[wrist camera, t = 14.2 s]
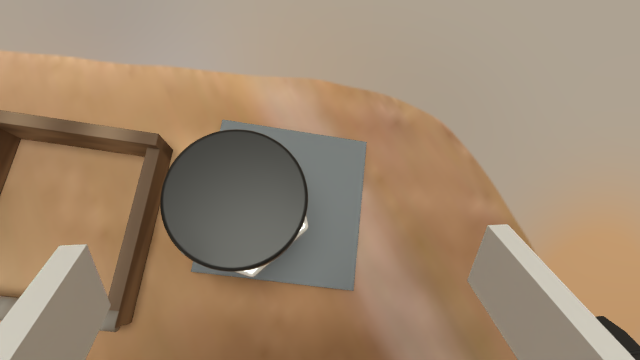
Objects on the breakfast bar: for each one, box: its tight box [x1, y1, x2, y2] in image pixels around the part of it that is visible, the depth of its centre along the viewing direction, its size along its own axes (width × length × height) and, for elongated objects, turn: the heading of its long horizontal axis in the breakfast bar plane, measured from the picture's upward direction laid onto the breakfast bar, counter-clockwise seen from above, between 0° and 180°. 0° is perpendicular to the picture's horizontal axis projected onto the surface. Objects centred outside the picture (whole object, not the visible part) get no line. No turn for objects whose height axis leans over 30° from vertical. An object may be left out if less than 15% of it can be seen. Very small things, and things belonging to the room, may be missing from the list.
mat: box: [191, 120, 367, 291], centre depth 32 cm, size 14×14×1 cm
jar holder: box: [0, 110, 173, 332], centre depth 28 cm, size 14×15×4 cm
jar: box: [160, 129, 308, 277], centre depth 25 cm, size 9×8×12 cm
